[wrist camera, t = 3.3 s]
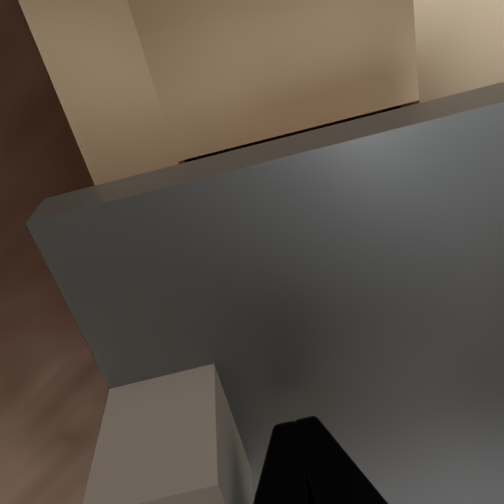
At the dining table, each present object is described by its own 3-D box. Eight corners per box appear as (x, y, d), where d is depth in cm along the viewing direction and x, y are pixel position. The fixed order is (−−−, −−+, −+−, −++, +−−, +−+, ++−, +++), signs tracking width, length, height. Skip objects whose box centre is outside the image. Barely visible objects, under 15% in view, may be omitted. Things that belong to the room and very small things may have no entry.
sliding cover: (539, 472, 15) (668, 656, 11) (227, 545, 15) (235, 750, 11) (579, 43, 9) (906, 82, 5) (62, 175, 9) (-53, 320, 5)
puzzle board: (644, 313, 20) (786, 414, 15) (203, 418, 20) (203, 549, 16) (768, -284, 11) (1185, -493, 7) (6, -78, 12) (-129, -131, 7)
